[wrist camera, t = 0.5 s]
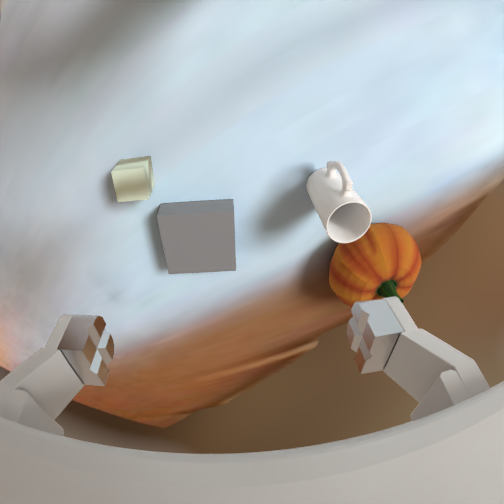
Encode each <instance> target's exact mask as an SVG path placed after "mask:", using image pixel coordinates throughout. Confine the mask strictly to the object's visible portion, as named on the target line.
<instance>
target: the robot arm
mask: <svg viewBox="0 0 504 504" xmlns="http://www.w3.org/2000/svg"><path fill="white" fill-rule="evenodd" d="M351 312H352V314H353V316H354V317H353V318H352V319H351V320H350V321H349V322H348V327H347V337H348V342H349V345H350V348H351V349H353V350H354V351H356V352H357V353H356V356H355V361H356V363H357V366H358V369H359V371H360V374H363V373H369V372H375V371H380V370H384V372H385V373H386V374H388V375H389V376H390V377H391V378H392V379H393V380H394V381H395V382H396V383H398V384H399V385H400V386H401V387H402V388H404V390H406V391H407V392H408V393H409V394H410V395H411V396H413V397H414V398H415V399H416V400H417V401H418V402H419V404H418V406H417V407H416V408H415V409H414V411H413V412H412V414H411V419H412V421H411V422H408V423H405V424H402V425H399V426H395V427H392V428H389V429H385V430H382V431H378V432H374V433H371V434H367V435H363V436H358V437H354V438H350V439H345V440H341V441H336V442H330V443H325V444H319V445H313V446H308V447H301V448H293V449H285V450H276V451H265V452H253V453H233V454H185V453H166V452H153V451H143V450H134V449H127V448H120V447H112V446H107V445H101V444H96V443H90V442H86V441H81V440H76V439H72V438H68V437H63V434H64V430H63V428H62V427H61V426H60V425H59V424H58V423H56V422H55V421H54V420H55V418H56V417H57V416H58V415H59V414H60V413H61V412H62V410H63V409H64V408H65V407H66V406H67V405H68V403H69V402H70V401H71V400H72V399H73V398H74V397H75V395H76V394H77V393H78V392H79V391H80V390H81V389H82V387H83V386H84V385H83V384H85V385H96V386H105V383H106V380H107V376H108V373H109V369H108V367H107V364H108V363H110V362H111V361H112V359H113V355H114V342H113V338H112V336H111V334H110V333H109V332H108V331H106V330H105V329H104V328H105V326H106V323H105V321H104V319H103V317H101V316H92V315H68V314H64V315H62V316H61V317H60V319H59V320H58V322H57V324H56V326H55V328H54V330H53V332H52V334H51V336H50V338H49V340H48V342H47V344H46V346H45V348H41V349H39V350H38V351H37V352H35V353H34V354H33V355H32V356H30V357H29V358H28V359H27V360H25V361H24V362H23V363H22V364H20V365H19V366H18V367H17V368H15V369H14V370H13V371H12V372H11V373H9V374H8V375H7V376H6V377H4V378H3V379H2V380H1V381H0V504H504V381H503V382H501V383H499V384H497V385H496V386H494V387H492V388H490V387H489V385H488V383H487V382H486V380H485V378H484V376H483V375H482V373H481V371H480V370H479V368H478V367H477V364H476V363H475V361H474V360H473V359H471V358H469V357H468V356H466V355H465V354H463V353H461V352H460V351H458V350H457V349H455V348H453V347H452V346H450V345H448V344H446V343H445V342H443V341H442V340H440V339H438V338H437V337H435V336H433V335H432V334H430V333H428V332H426V331H425V330H423V329H418V328H417V326H416V325H415V323H414V322H413V320H412V318H411V317H410V315H409V314H408V312H407V310H406V309H405V307H404V306H403V304H402V303H401V301H400V299H399V298H398V297H396V296H394V297H388V298H382V299H375V300H367V301H360V302H355V303H354V305H353V307H352V311H351Z"/></svg>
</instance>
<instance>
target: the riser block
mask: <svg viewBox="0 0 504 504" xmlns="http://www.w3.org/2000/svg"><path fill="white" fill-rule="evenodd" d="M157 221H158V226H159V231H160V236H161V241H162V245H163V250H164V255H165V259H166V264H167V268H168V272H169V274H178V273H199V272H219V271H236V258H235V227H234V206H233V199H224V200H206V201H190V202H175V203H162V204H160V207H159V211H158V214H157Z"/></svg>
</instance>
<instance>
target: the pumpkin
mask: <svg viewBox="0 0 504 504" xmlns="http://www.w3.org/2000/svg"><path fill="white" fill-rule="evenodd" d="M420 267H421V257H420V253H419V250H418V246H417V244H416V242H415V240H414V239H413V238H412V237H411V235H410V234H409V233H408V232H407V231H406V230H405V229H404V228H403V227H401V226H398V225H394V224H388V223H376V224H370V226H369V228H368V230H367V231H366V233H365V234H364V235H363V236H362V237H360V238H359V239H357V240H355V241H353V242H350V243H339V244H338V245H337V247H336V249H335V252H334V254H333V257H332V259H331V262H330V271H329V285H330V287H331V288H332V290H333V291H334V293H335V294H336V295H337V297H338V298H339V299H340V300H341V301H342V302H343V303H345V304H346V305H348V306H350V307H351V308H352V307H353V305H354V303H355V302H360V301H367V300H375V299H382V298H388V297H394V296H396V297H398V298H399V299H400V301H401V303H403V299H402V298H403V297H404V296H405V295H406V294H408V292H409V291H410V289H411V287H412V286H413V284H414V282H415V280H416V278H417V276H418V272H419V270H420Z"/></svg>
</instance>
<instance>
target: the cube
mask: <svg viewBox="0 0 504 504" xmlns="http://www.w3.org/2000/svg"><path fill="white" fill-rule="evenodd" d="M111 174H112V179H113V184H114V188H115V193H116V197H117V201H118V202H125V201H135V200H146V199H149V197H150V195H151V193H152V190H153V188H154V186H155V183H154V176H153V170H152V163H151V156H146V157H138V158H130V159H122V160H120V161H119V163H118V164H117V165H116V166H115V168H114V169H113V170H112V171H111Z"/></svg>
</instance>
